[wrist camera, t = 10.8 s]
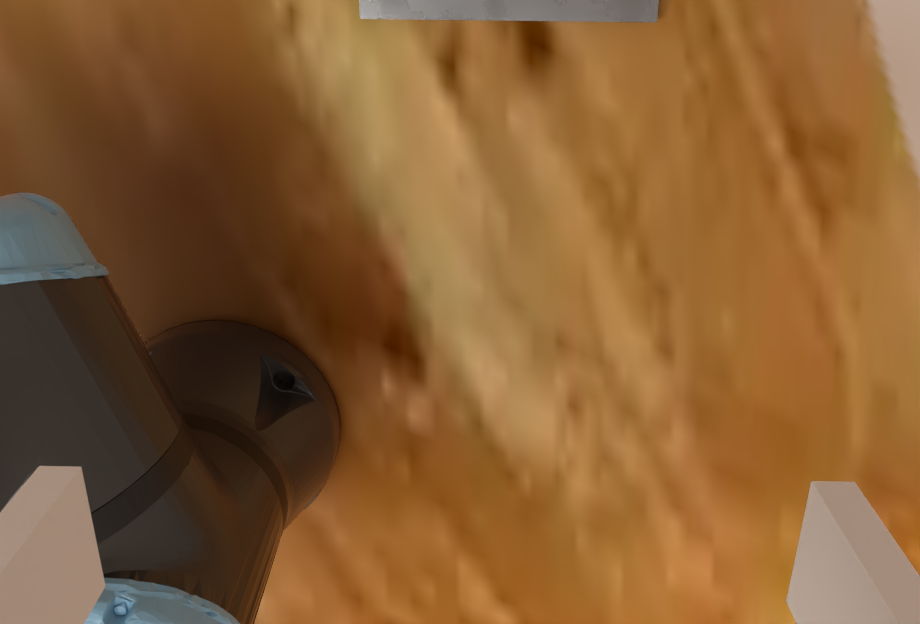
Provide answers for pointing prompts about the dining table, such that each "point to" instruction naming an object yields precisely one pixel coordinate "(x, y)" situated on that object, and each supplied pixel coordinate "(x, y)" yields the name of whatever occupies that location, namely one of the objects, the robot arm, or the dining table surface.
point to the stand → (512, 10)
